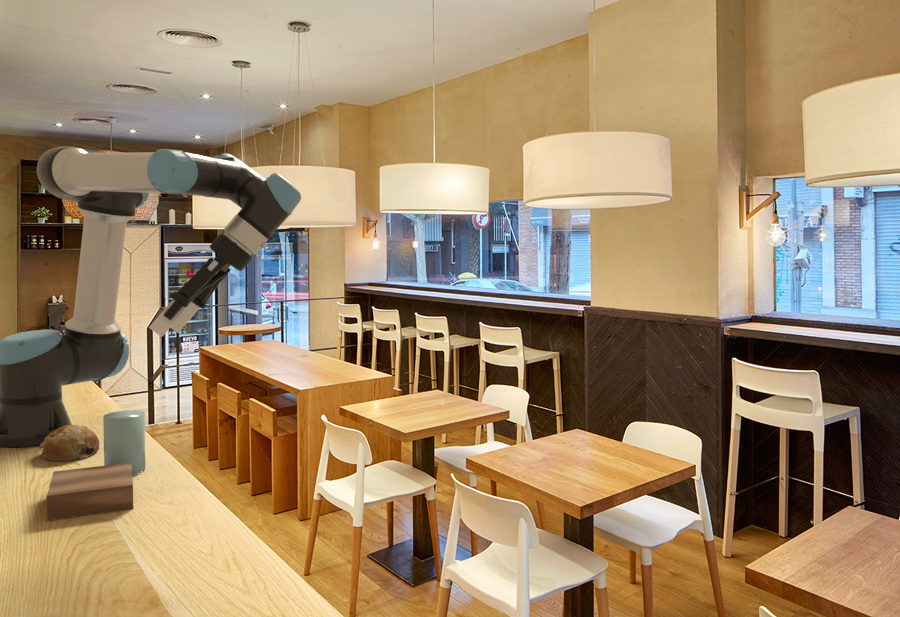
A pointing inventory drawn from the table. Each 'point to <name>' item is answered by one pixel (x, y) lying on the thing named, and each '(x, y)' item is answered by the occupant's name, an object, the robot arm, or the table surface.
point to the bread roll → (70, 443)
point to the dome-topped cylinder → (125, 439)
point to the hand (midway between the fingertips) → (164, 330)
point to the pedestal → (90, 491)
